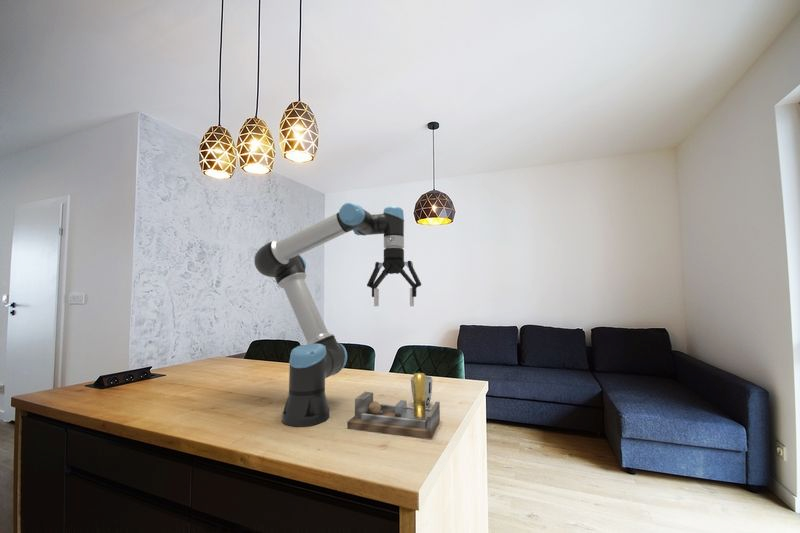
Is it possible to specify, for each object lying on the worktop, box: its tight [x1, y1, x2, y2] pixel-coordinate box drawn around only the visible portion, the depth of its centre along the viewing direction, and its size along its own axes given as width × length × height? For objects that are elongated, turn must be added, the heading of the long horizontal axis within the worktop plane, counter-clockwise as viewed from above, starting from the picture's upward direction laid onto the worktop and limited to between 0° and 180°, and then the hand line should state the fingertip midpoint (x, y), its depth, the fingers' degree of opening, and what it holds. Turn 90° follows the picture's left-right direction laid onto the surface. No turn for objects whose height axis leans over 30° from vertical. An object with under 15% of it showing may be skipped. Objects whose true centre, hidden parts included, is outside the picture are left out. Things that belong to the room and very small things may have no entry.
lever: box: [395, 372, 430, 426], centre depth 98 cm, size 10×8×14 cm
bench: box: [346, 391, 441, 440], centre depth 99 cm, size 26×14×8 cm, turn 73°
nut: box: [369, 400, 381, 415], centre depth 101 cm, size 4×4×4 cm
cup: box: [410, 375, 433, 409], centre depth 117 cm, size 8×8×10 cm
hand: (393, 306), depth 114 cm, fingers open, 13 cm apart
